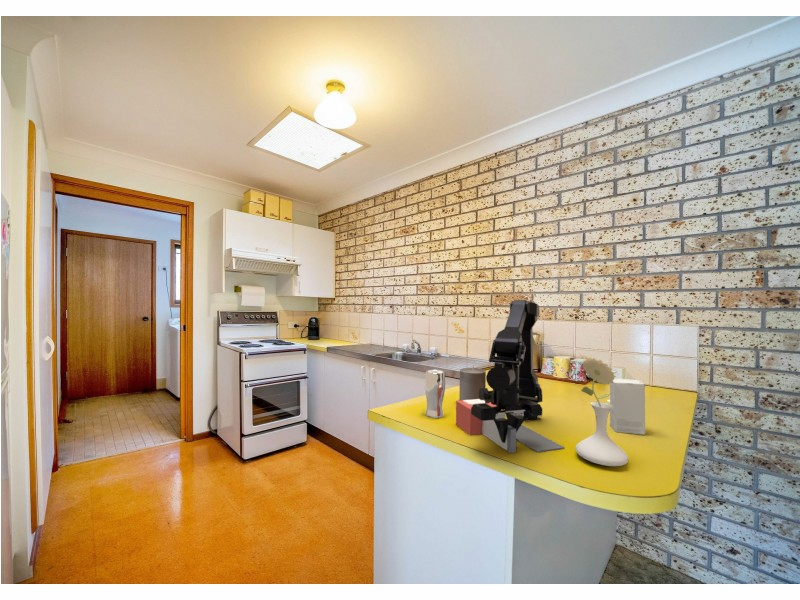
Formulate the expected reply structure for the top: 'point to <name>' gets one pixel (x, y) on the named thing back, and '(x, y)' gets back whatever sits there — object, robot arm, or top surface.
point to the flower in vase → (600, 421)
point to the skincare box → (627, 406)
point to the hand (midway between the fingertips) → (506, 442)
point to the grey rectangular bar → (493, 434)
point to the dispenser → (469, 416)
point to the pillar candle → (471, 383)
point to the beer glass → (434, 392)
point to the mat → (536, 440)
